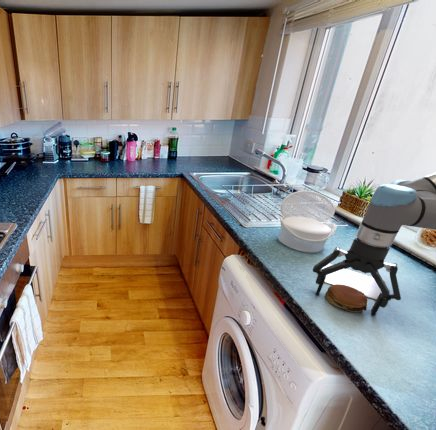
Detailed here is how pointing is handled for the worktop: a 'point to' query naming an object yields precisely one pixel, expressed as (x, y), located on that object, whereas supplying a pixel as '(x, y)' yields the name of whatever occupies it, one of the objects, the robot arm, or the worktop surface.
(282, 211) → the plastic deli container
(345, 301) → the burger
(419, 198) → the robot arm
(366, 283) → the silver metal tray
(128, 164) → the worktop surface
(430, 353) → the worktop surface
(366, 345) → the worktop surface
